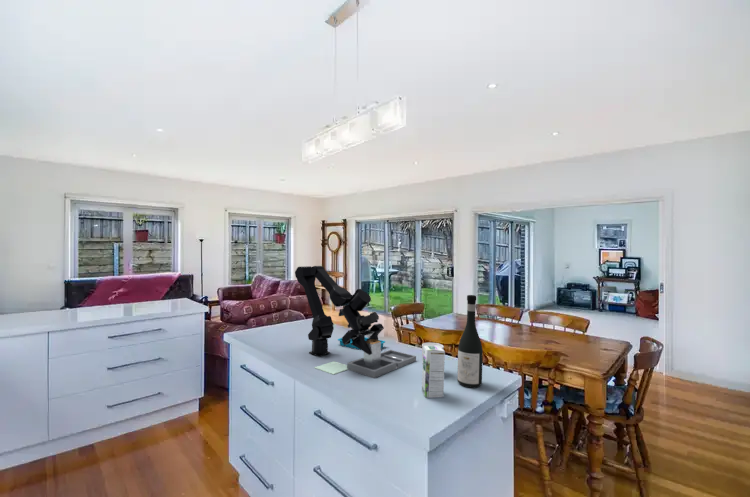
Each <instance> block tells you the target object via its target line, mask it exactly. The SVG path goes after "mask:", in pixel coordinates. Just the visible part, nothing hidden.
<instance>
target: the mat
mask: <svg viewBox="0 0 750 497" xmlns="http://www.w3.org/2000/svg"><path fill="white" fill-rule="evenodd" d="M313 369H316V370H318V371H320V372H324V373H326V374H330V375H337V374H340V373H343V372H346V371H349V370H348V369H347V364H344V363H340V362H337V361H331V362H328V363H324V364H321V365H318V366H315V367H314V368H313Z"/></svg>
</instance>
